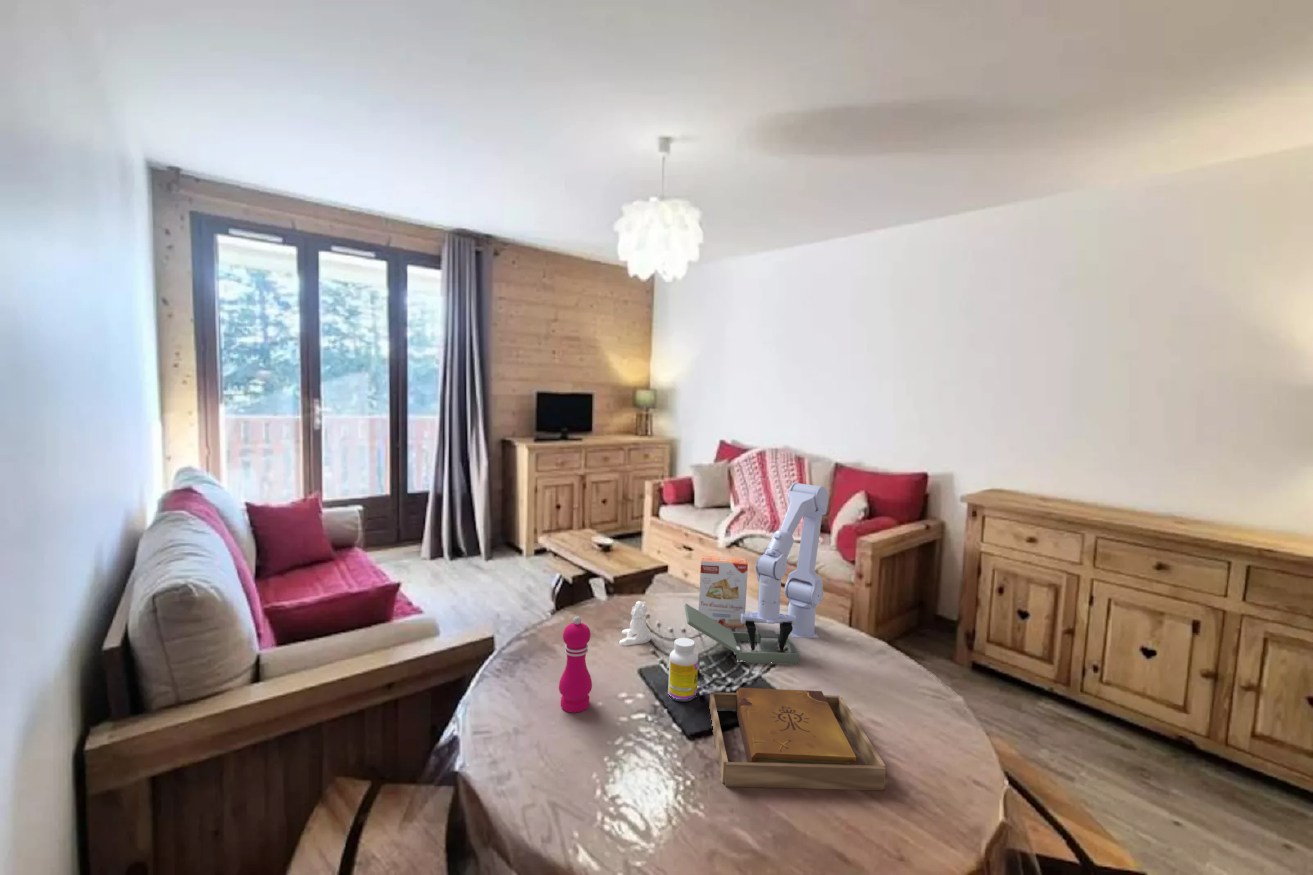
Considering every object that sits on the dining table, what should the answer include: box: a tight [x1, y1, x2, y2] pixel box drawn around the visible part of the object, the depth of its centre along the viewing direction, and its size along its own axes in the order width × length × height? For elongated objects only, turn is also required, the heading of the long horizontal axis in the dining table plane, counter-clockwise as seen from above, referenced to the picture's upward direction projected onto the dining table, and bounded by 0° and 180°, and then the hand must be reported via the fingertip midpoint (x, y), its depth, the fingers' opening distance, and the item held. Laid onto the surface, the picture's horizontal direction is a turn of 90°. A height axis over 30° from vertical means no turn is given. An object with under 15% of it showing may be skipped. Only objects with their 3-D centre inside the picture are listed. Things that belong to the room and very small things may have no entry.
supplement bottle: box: [667, 637, 699, 699], centre depth 131 cm, size 7×7×13 cm
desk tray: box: [708, 691, 887, 791], centre depth 114 cm, size 25×29×4 cm
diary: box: [735, 687, 857, 765], centre depth 114 cm, size 23×19×6 cm
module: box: [756, 629, 779, 653], centre depth 154 cm, size 4×4×6 cm
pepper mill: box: [558, 616, 593, 713], centre depth 126 cm, size 7×7×20 cm
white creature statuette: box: [618, 600, 652, 647], centre depth 159 cm, size 10×9×12 cm
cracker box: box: [698, 555, 749, 628], centre depth 172 cm, size 14×6×21 cm, turn 83°
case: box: [684, 603, 800, 665], centre depth 154 cm, size 13×29×11 cm, turn 91°
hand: (766, 649), depth 154 cm, fingers open, 7 cm apart
